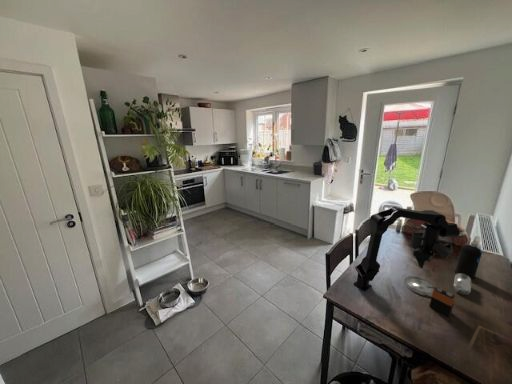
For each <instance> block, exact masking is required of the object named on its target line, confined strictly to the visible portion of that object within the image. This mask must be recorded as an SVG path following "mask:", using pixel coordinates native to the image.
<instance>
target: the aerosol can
mask: <svg viewBox="0 0 512 384" xmlns="http://www.w3.org/2000/svg"><path fill="white" fill-rule="evenodd" d="M460 248H461V249H460V252H459V257H458V260H457V263H456V268H455V270H454V273H455V275H456V274H459V273H462V274H466V275H467V276H469V277H470V278H471V280H475V279H476V274H477V272H478V271H477V270H478V268H479V265H480V261H481V258H482V254H483V251H482V250H481V248H479V247H478V246H477V242H475V241H471V242H470V244H465V245H464V244H463V245H462V246H460Z"/></svg>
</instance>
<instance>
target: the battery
mask: <svg viewBox="0 0 512 384" xmlns="http://www.w3.org/2000/svg"><path fill="white" fill-rule="evenodd" d="M456 297H457V296H456V294H454V293H452V292H451V291H446V290H445V289H442V288H440V287H439V286H436V288H435V289H434V290H433V293H432V297H430V302H429V308H430V309H432V310H435V311H437V312H439V313H441V314H442V315H444V316H446V317H449V316H450V315H451V313H452V311H453V309H454V305H455V302H456V301H455V300H456Z"/></svg>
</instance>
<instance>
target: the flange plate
mask: <svg viewBox="0 0 512 384" xmlns="http://www.w3.org/2000/svg"><path fill="white" fill-rule="evenodd" d="M404 285H405V287H406V288H408V290H410V291H411V292H413V293H415V294H417V295H420V296H423V297H426V298H431V297H432V293H433V290H434V289H435V288H436V287H437V286H436V285H435V284H434V283H432V282H431V281H429V280H427V279H425V278H421V277H418V276H407V277H405V279H404Z"/></svg>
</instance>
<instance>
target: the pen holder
mask: <svg viewBox="0 0 512 384" xmlns="http://www.w3.org/2000/svg"><path fill="white" fill-rule="evenodd" d="M423 234H424V232H414V231H413V232H412V234H411V235H412V236H411V243H410V246H411V248H412V249H415V250H416V249H418V248H419V249H422V250H424V249H423V248H421V247H420V245H421V244H422V240H421V238H422V237H423Z"/></svg>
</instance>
